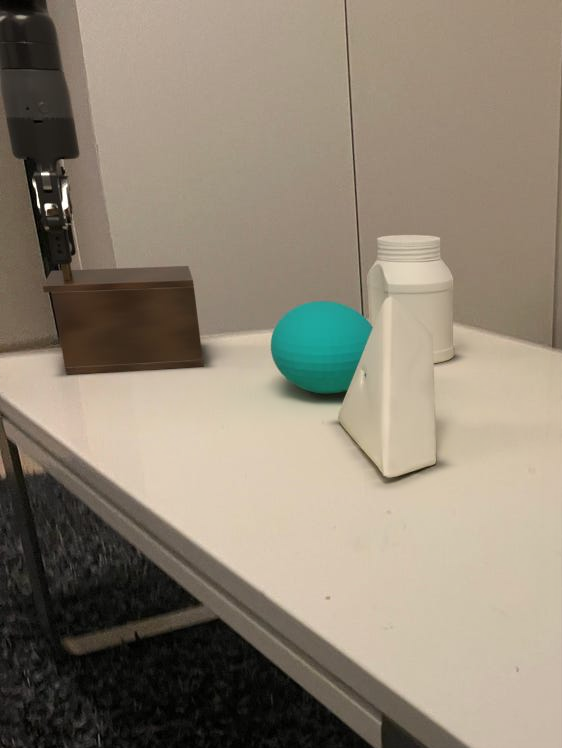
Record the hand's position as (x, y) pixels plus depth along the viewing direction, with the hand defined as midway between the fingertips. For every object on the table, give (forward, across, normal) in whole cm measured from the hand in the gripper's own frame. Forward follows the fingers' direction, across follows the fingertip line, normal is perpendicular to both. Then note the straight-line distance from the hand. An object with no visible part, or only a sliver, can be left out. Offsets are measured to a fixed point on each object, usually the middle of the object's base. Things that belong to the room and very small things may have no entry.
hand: (65, 259), depth 125 cm
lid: (+3, 0, +6) cm, 7 cm away
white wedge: (+13, +49, +32) cm, 60 cm away
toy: (+13, +24, +29) cm, 40 cm away
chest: (+13, 0, +7) cm, 14 cm away
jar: (+13, +8, +43) cm, 45 cm away
